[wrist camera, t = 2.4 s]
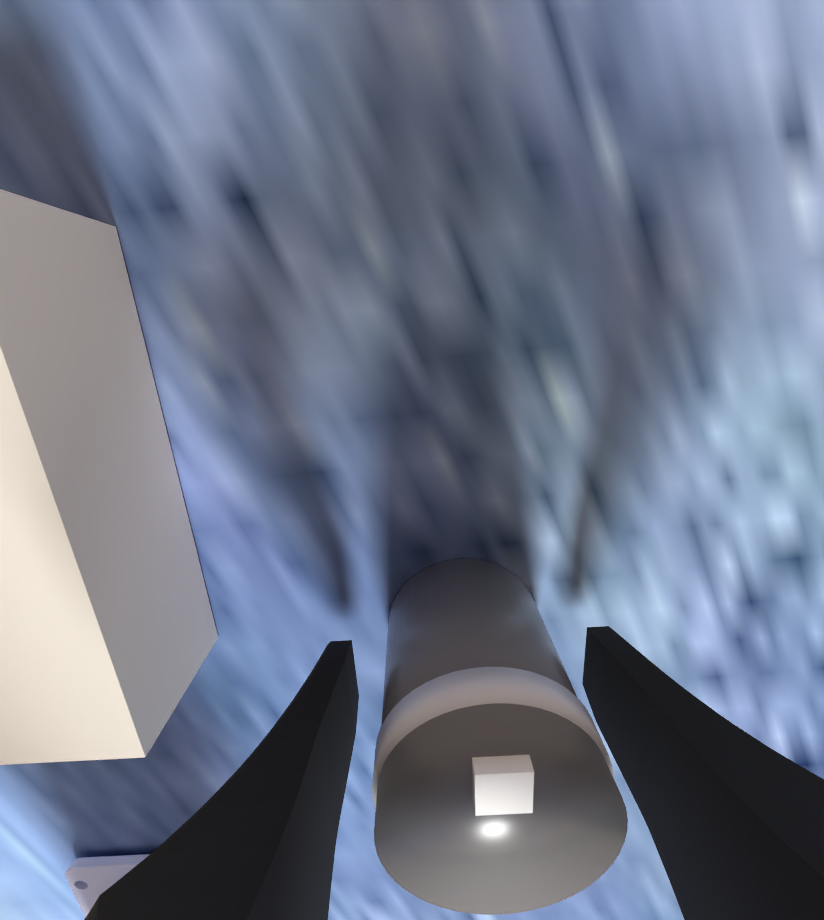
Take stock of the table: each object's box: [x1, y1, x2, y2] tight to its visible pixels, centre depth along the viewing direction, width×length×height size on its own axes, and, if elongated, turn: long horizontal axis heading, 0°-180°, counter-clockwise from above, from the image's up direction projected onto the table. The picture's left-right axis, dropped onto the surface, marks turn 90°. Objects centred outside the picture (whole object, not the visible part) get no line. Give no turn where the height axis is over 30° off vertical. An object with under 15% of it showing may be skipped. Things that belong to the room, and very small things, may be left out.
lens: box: [372, 558, 628, 914], centre depth 11 cm, size 5×5×6 cm
